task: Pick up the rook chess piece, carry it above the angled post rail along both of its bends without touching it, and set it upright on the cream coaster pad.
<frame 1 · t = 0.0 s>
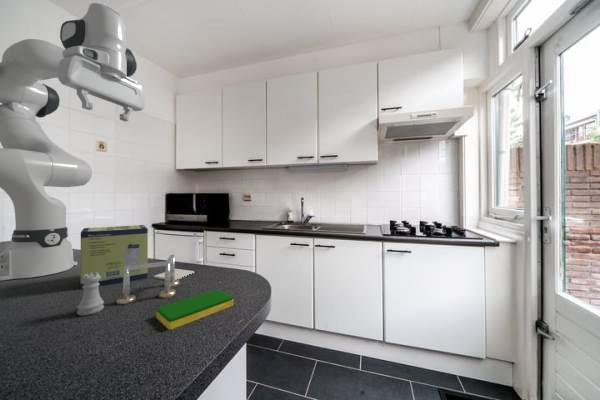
hand: (106, 115, 66), 48 cm above the countertop, tool pointing down, fingers open, 8 cm apart
protein box: (115, 279, 71), on the countertop
angled post rail: (158, 293, 60), on the countertop
dish sponge: (197, 313, 51), on the countertop
coaster pad: (174, 275, 74), on the countertop
rook chess piece: (90, 312, 50), on the countertop
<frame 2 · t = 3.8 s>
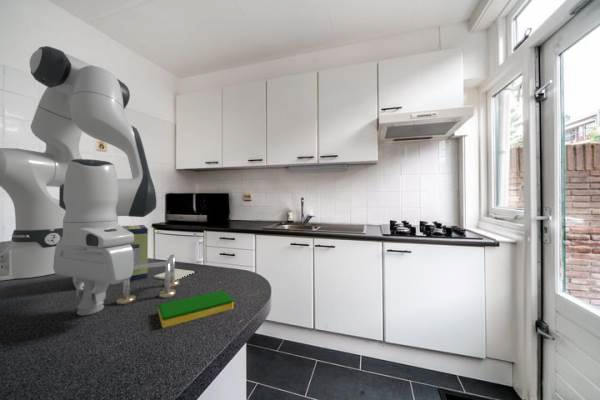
hand: (91, 298, 50), 3 cm above the countertop, tool pointing down, fingers closed on rook chess piece, 3 cm apart
rook chess piece: (90, 312, 50), on the countertop, touching gripper
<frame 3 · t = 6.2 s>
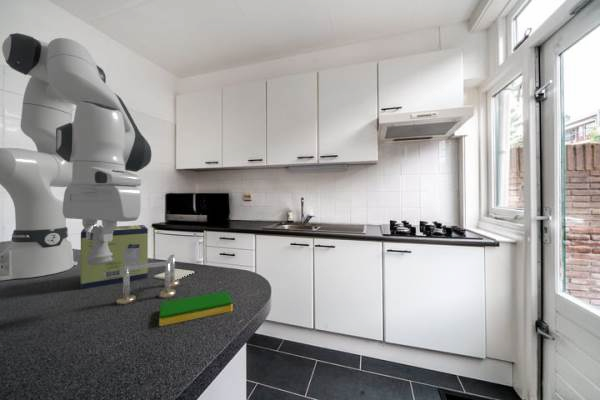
hand: (99, 240, 51), 15 cm above the countertop, tool pointing down, fingers closed on rook chess piece, 3 cm apart
rook chess piece: (100, 263, 51), point 10 cm above the countertop, touching gripper
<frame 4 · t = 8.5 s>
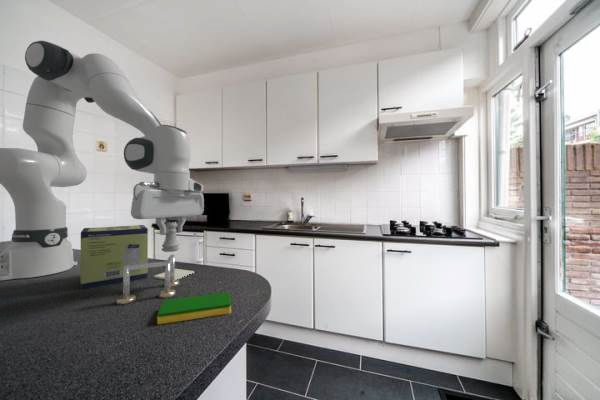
hand: (171, 233, 65), 15 cm above the countertop, tool pointing down, fingers closed on rook chess piece, 3 cm apart
rook chess piece: (170, 251, 66), point 10 cm above the countertop, touching gripper
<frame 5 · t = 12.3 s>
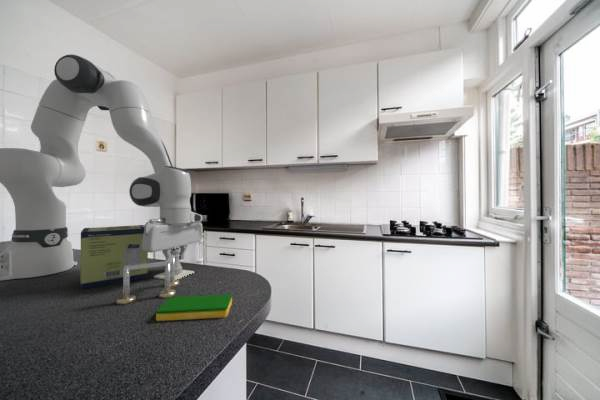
hand: (175, 260, 74), 5 cm above the countertop, tool pointing down, fingers closed on rook chess piece, 3 cm apart
rook chess piece: (174, 273, 74), resting on coaster pad, touching gripper
when the fingers open (5 cm above the countertop, at t = 12.3 s): rook chess piece stays where it is, resting on coaster pad.
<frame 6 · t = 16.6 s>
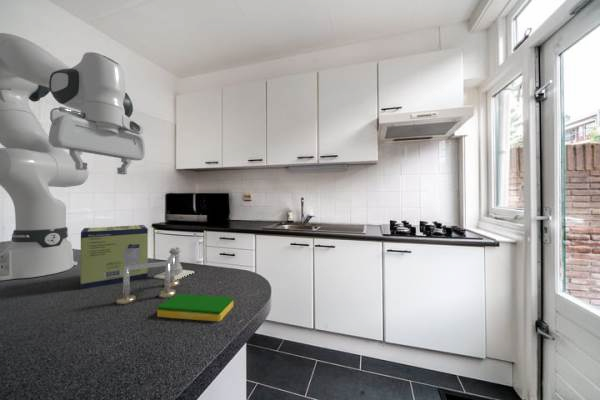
hand: (103, 172, 61), 31 cm above the countertop, tool pointing down, fingers open, 8 cm apart
rook chess piece: (174, 273, 74), resting on coaster pad
at the end: rook chess piece 0.1 cm off-centre on the coaster pad, point 0.4 cm above the coaster pad's base; rook chess piece tilted 0°; rook chess piece touching coaster pad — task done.
